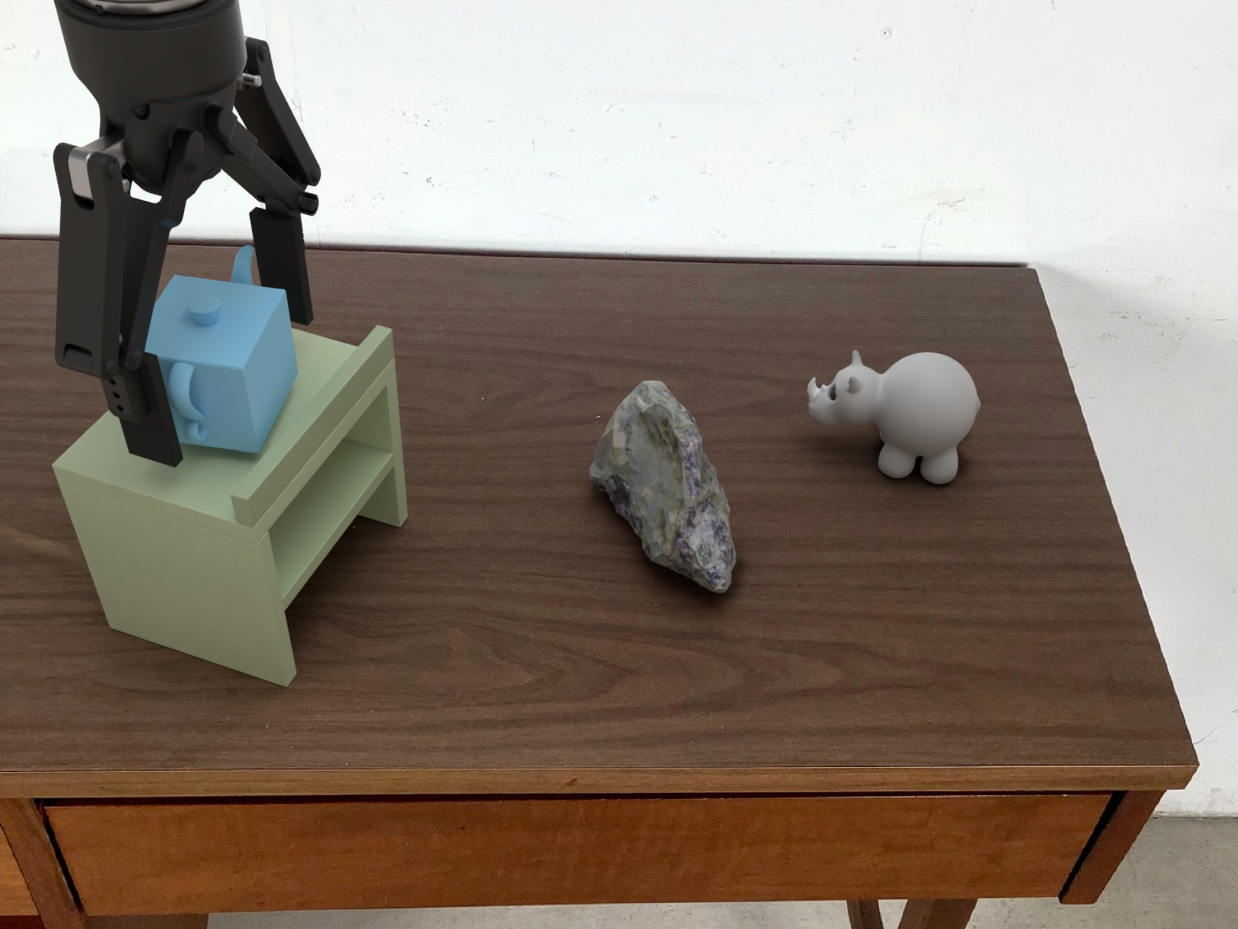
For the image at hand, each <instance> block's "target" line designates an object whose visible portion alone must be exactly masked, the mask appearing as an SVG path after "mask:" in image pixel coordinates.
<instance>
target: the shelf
mask: <svg viewBox="0 0 1238 929" xmlns="http://www.w3.org/2000/svg"><path fill="white" fill-rule="evenodd" d="M291 329H292V335H293V342H294V348H295V355H296V361H297V368H298V374H297V376H296V378H295V380H294V382H293V384H292V387H291V389H290V391H289V393H288V395H287V397H286V399H285V401H284V404H283V405H282V407H281V409H280V411H279V413H278V415H277V417H276V419H275V421H274V423H273V425H272V427H271V429H270V432H269V434H268V436H267V438H266V440H265V442H264V445H263V446H262V448H261V450H260V452H259V453H253V452H242V451H239V450H232V449H224V448H217V447H210V446H202V445H195V444H188V443H180V447H181V451H182V455H183V460H182V461H181V462H180V463H179V464H178V465H177V466H176V468H174V467H171V466H168V465H165V464H162V463H158V462H155V461H152V460H149V459H146V458H142V457H139V456H136V455H133V454H130V453H129V451H128V448H127V444H126V441H125V437H124V434H123V431H122V427H121V424H120V421H119V417H116V416H114V415H113V414H112V413H111V412H110V411H109V409H108V410H107V411H106V412H105V413H104V414H103V415H101V416H100V417H99V418H98V419H97V420H96V422H94V423H93V424H92V425H91V426H90V427H89V428H88V429H87V430H86V431H85V432H84V433H83V434H82V435H81V436H80V437H79V438H77V439H76V441H75V442H74V443H72V444H71V445H70V446H69V447H68V448H67V449H66V450H65V451H64V452H63V453H62V454H61V455H60V456H59V457H58V458H57V459H56V460H55V461H54V462H53V463H52V464H51V466H52V469H53V472H54V475H55V478H56V481H57V484H58V486H59V490H60V492H61V495H62V497H63V501H64V504H65V506H66V509H67V512H68V514H69V517H70V520H71V523H72V526H73V528H74V532H75V534H76V536H77V537H76V538H77V540H78V542H79V545H80V548H81V551H82V553H83V556H84V559H85V562H86V564H87V567H88V570H89V573H90V576H91V579H92V580H93V582H92V583H93V584H94V587H95V590H96V593H97V595H98V598H99V601H100V604H101V607H102V609H103V612H104V614H105V618H106V621H107V623H108V626H109V628H110V629H113V630H115V631H119V632H122V633H124V634H127V635H131V636H133V637H136V638H139V639H142V640H145V641H149V642H152V643H153V644H157V645H160V646H163V647H166V648H169V649H172V650H175V651H177V652H181V653H184V654H187V655H188V656H189V655H190V656H193V657H196V658H198V659H202V660H204V661H207V662H210V663H212V664H213V663H214V664H216V665H218V666H221V667H224V668H228V669H231V670H235V671H237V672H240V673H243V674H246V675H249V676H251V677H254V678H258V679H260V680H264V681H267V682H269V683H273V684H276V685H279V686H281V687H284V688H288V687H289V685H290V684H291V683H292V681H293V680H294V679H295V677H296V676H297V674H298V673H297V672H298V671H297V667H296V661H295V657H294V652H293V647H292V641H291V638H290V632H289V628H288V627H289V626H288V622H287V617H286V613H285V612H286V610H287V609H288V607H289V606H290V605H291V603H292V602H293V601H294V599H295V598H296V597H297V595H298V594H299V593H300V592H301V591H302V589H303V587H305V585H306V584H307V582H308V581H309V579H310V578H311V577H312V576H313V574H315V571H317V568H318V567H319V566H320V565H321V564H322V562H323V561H324V560H325V558H326V557H327V556H328V555H329V553H330V551H331V550H332V549H333V548H334V546H335V545H336V543H338V541H339V539H340V538H342V536H343V534H344V533H345V531H346V530H347V529H348V528H349V527H350V525H351V523H353V521H354V519H355V518H356V517H357V516H361V517H364V518H368V519H370V520H374V521H377V522H380V523H384V524H387V525H390V526H394V527H396V528H402V526H403V525H404V523H405V522H406V521H407V519H408V518H409V513H408V512H409V511H408V501H407V488H406V477H405V468H404V466H405V464H404V454H403V442H402V431H401V430H402V429H401V418H400V407H399V405H400V404H399V397H398V394H399V392H398V381H397V374H396V373H397V372H396V370H397V369H396V359H395V346H394V335H393V334H394V333H393V329H392V328H390V327H386V326H382V325H379V324H377V325H376V326H374V328H373V329H372V330H371V332H369V334H368V335H367V336H366V337H365V338H364V340H362V342H361V343H360V344H359V345H358V346H356V345H353V344H349V343H346V342H342V341H339V340H334V339H331V338H327V337H324V336H321V335H318V334H314V333H311V332H308V331H303V330H300V329H297V328H292V327H291Z"/></svg>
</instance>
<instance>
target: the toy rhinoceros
mask: <svg viewBox="0 0 1238 929" xmlns="http://www.w3.org/2000/svg"><path fill="white" fill-rule="evenodd" d="M816 379H817V378H816V376H814V377H813V378H812V379H811V380H810V381H809V383H808V385H807V388H806V389H807V390H806V392H807V396H808V405H807V410H808V414H809V416H810V418H811V419H812V421H813V422H814V423H816V424H817V425H819V426H821V427H834V426H836V425H838V424H846V425H849V426H852V427H853V426H855V427H860V426H864V425H868V424H873V425H875V426H876V428H877V429H878V431H879V437H880V438H879V439H880V440H881V441H882V443H883V444H884V445H883V446H882V449H881V451H880V453H879V456H878V459H877V466H878V468H879V471H881V472H882V473H883V474H884V475H886V476H887V477H890V478H893V479H902V478H905V477H908V476H909V475H910V474H911V473H912V472H913V470H914V467H915V465H916V459H917V457H922V459H921V461H920V474H921V476H922V477H923V478H924V480H926V481H928V482H929V483H931V484H935V485H943V484H947V483H949V482H951V481H953V480H954V479H955V477H956V475H957V473H958V470H959V455H958V451H957V447H958V445H959V443H960V442H962V441H963V440H964V439H965V438H966V436H967V435H968V434H969V432H970V431H971V429H972V427H973V425H974V423H975V420H976V417H977V414H978V412H979V411H980V409H981V405H982V404H981V399H980V398H979V396H978V392H977V388H976V385H975V382H974V380H973V378H972V377H971V375H970V373H969V371H968V370H967V369H966V368H965V367H964V366H963V365H962V364H961V363H960V362H958V361H957V360H955V359H954V358H952V357H950V356H948V355H945V354H942V353H938V352H932V351H931V352H930V351H928V352H926V351H924V352H917V353H913V354H909V355H907V356H904V357H902V358H901V359H899V360H898V361H896V362H895V363H893V364H892V365H891V366H889V368H888V369H887V370H886V371H885V372H884V373H878V372H876V371H875V370H874V369H872V368H871V367H869V366H865V365H864V364H863V362H862V358H861V354H860V352H859V351H858V350H856V349H855V350H853V351H852V353H851V364H850V365H848V366H847V367H844V368H843V369H840V370H839V371H838V372H837V373H836V375H835V377H834V379H833V380H832V381H831V383H830V384H828V385H825V384H822V385H821V387H818V386H817V384H816Z"/></svg>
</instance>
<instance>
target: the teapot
mask: <svg viewBox="0 0 1238 929" xmlns="http://www.w3.org/2000/svg"><path fill="white" fill-rule="evenodd" d="M253 257H254V246H253V245H250V244H246V245H243V246H241V248H240V249H239V250H238V252H236V255H235V258H234V262H233V267H232V271H231V277H230V281H224V280H216V279H210V278H209V279H208V278H201V277H193V276H187V275H179V274H174V275H173V276H172V278H171V279H170V280H169V282H168V284H167V285H166V287H165V288H164V289H163V291H162V292H161V293H160V295H159V297H158V299H157V300H156V301H155V304H154V309H153V314H152V319H151V323H150V328H149V333H148V337H147V342H146V347H145V352H148V353H152V354H155V355H157V357H158V360H159V364H160V368H161V372H162V376H163V380H164V384H165V388H166V392H167V396H168V400H169V404H170V408H171V412H172V416H173V420H174V424H175V428H176V431H177V435H178V439H179V443H188V444H195V445H202V446H210V447H217V448H224V449H232V450H239V451H242V452H253V453H259V452H260V450H261V448H262V446H263V445H264V442H265V440H266V438H267V436H268V434H269V432H270V429H271V427H272V425H273V423H274V421H275V419H276V417H277V415H278V413H279V411H280V409H281V407H282V405H283V404H284V401H285V399H286V397H287V395H288V393H289V391H290V389H291V387H292V384H293V382H294V380H295V378H296V376H297V374H298V368H297V361H296V355H295V348H294V342H293V335H292V329H291V328H292V324H291V322H292V321H290V316H289V309H288V303H287V296H286V291H285V290H284V289H275V288H268V287H261V285H254V281H253V275H252V263H253Z"/></svg>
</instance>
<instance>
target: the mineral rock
mask: <svg viewBox="0 0 1238 929" xmlns="http://www.w3.org/2000/svg"><path fill="white" fill-rule="evenodd" d="M717 476H718V472H717V470H716V468H715V467H714V466H713V464H712V463H711V462H710V459H709V457H708V454H707V453H706V452H705V448H704V445H703V437H702V435H701V434H700V431H699V427H698V425H697V422H696V418H695V417H694V416H693V415H692V414H691V412H690V410H689V409H688V408H686V407H685V406H684V405H683V404H682V403H680V402H679V401H678V400H677V399H676V398H675V396H674V395H673V393H672V392H671V390H669V388H668V387H667V385H666V384H665V383H664V382H663V381H661V380H642V381H641V382H640V383H639V384H638V385H637V386H636V387H635V388H634V389H633V390H632V392H630V393H629V394H628V395H627V396H625V398H624V399H623V400H622V401H621V403H620V404H619V405H618V406H617V408H616V409H615V410H614V412H613V413H612V414H611V417H610V419H609V421H608V422H607V425H606V427H605V429H604V432H603V434H602V436H601V438H600V439H599V441H598V442H597V444H596V446H595V448H594V452H593V462H592V464H591V465H590V467H589V482H590V484H591V486H593V488H595V489H596V490H600V491H601V492H604V493H607V495H608V496H609V500H610V501H611V502H612V504H613V506H614V509H615V512H616V513H617V514H619V515H620V516H621V517H622V518H624V519H625V520H626V521H627V522H628V523H629V525H630V526H631V528H632V529H633V532H634V534H636V535H637V536H638V537H639V538H640V539H641V544H642V546H641V547H642V549H643V551H644V553H645V555H646V557H647V558H648V559H649V560H650V561H651V562H653V563H655V564H657V565H660V566H662V567H665V568H667V569H670V570H672V571H673V572H676V573H678V574H681V575H683V576H684V577H687V578H688V579H690V580H692V581H694V582H696V583H698V585H699V586H701V587H704V588H706V589H708V590H709V591H711V592H714V593H716V594H724V593H725V592H726V591H728V588H730V586H731V584H732V578H733V577H732V571H733V570H734V567H735V565H736V562H737V552H736V548H735V543H734V541H733V538H732V537H733V536H732V533H731V532H732V531H731V524H730V512H731V507H730V505H729V501H728V497H727V496H726V493H725V491H724V488H723V487H722V486H721V485H720V484H719V483H720V482H719V480H718V477H717Z"/></svg>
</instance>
